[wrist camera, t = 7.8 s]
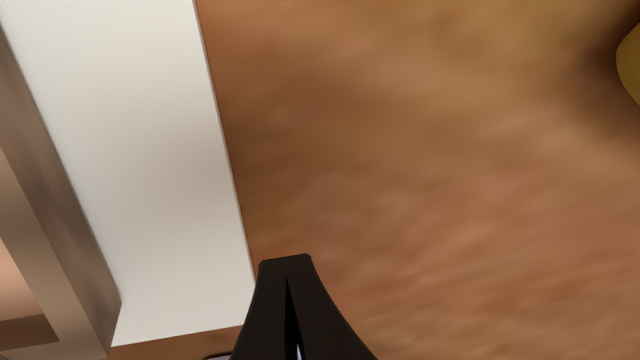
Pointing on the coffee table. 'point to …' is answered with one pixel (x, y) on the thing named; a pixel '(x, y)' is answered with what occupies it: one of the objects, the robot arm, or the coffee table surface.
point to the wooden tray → (45, 244)
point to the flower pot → (630, 63)
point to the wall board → (140, 154)
